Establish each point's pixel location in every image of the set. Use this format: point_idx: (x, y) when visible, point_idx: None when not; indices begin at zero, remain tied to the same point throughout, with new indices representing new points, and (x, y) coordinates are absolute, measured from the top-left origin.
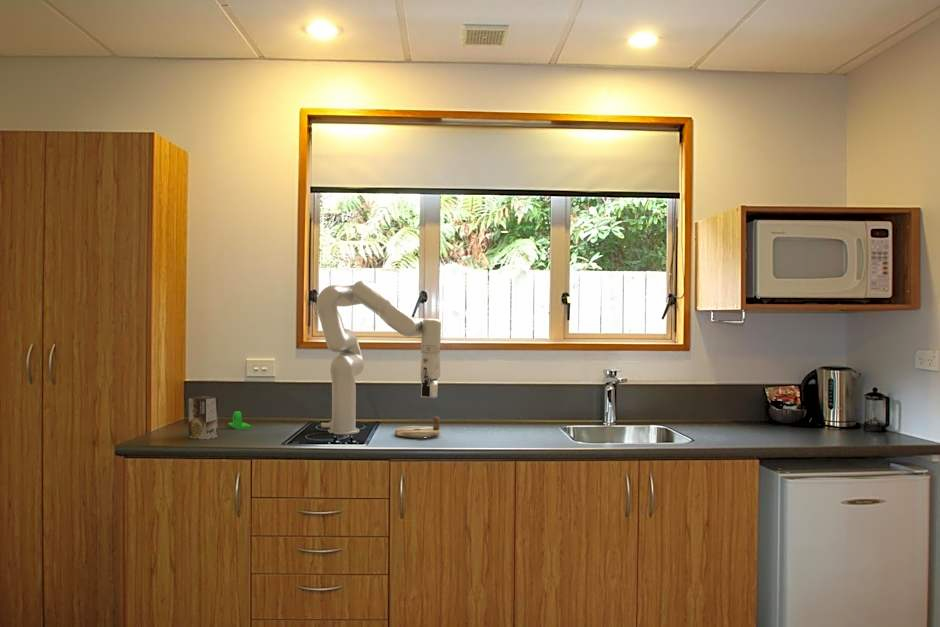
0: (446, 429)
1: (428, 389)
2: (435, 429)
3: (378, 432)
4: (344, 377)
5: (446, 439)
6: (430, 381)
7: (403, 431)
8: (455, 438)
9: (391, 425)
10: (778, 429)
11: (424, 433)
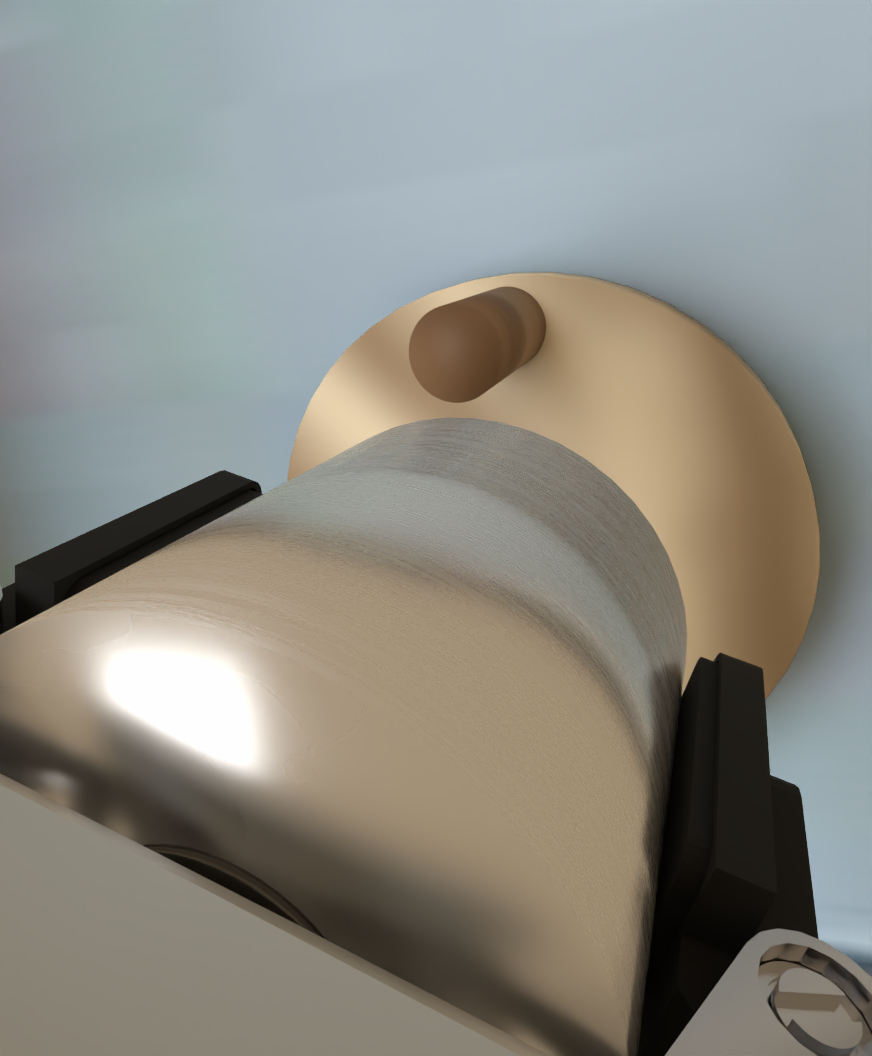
0: (100, 253)
1: (760, 825)
2: (543, 337)
3: None
4: None
5: (751, 147)
6: (605, 1039)
7: None
8: (664, 22)
9: None
10: None
11: (802, 462)
